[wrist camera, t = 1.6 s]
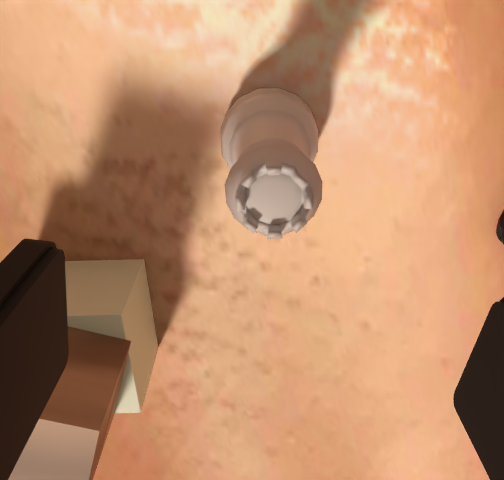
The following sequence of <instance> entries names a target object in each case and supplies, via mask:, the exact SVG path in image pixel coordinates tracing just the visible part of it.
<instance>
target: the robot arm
mask: <svg viewBox="0 0 504 480" xmlns="http://www.w3.org/2000/svg"><path fill="white" fill-rule="evenodd" d="M68 354H69V345H68V322H67V298H66V275H65V256H64V252H63V250H59V249H56V245H55V243H54V242H49V241H41V240H33V239H23V240H22V241H21V242H20V243H19V244H18V245H17V246H16V247H15V248H14V249H13V250H12V251H11V252H10V253H9V254H8V255H7V256H6V257H5V259H4V260H3V261H2V262H1V263H0V480H8V479H9V477H10V475H11V473H12V471H13V469H14V467H15V465H16V463H17V461H18V459H19V457H20V455H21V453H22V451H23V449H24V448H25V446H26V444H27V442H28V440H29V438H30V436H31V434H32V432H33V430H34V428H35V426H36V424H37V422H38V420H39V418H40V416H41V414H42V412H43V410H44V408H45V406H46V404H47V402H48V401H49V399H50V397H51V395H52V393H53V391H54V389H55V387H56V385H57V383H58V381H59V379H60V377H61V375H62V373H63V371H64V369H65V367H66V364H67V360H68ZM454 407H455V409H456V412H457V414H458V416H459V418H460V420H461V422H462V424H463V426H464V428H465V430H466V432H467V434H468V436H469V438H470V440H471V442H472V444H473V446H474V448H475V450H476V452H477V454H478V456H479V458H480V460H481V462H482V464H483V466H484V468H485V470H486V472H487V474H488V476H489V478H490V480H504V297H503V298H502V299H501V300H500V302H495V303H494V304H493V305H492V307H491V309H490V311H489V313H488V316H487V318H486V320H485V323H484V325H483V327H482V330H481V332H480V334H479V337H478V339H477V341H476V344H475V346H474V348H473V350H472V353H471V355H470V357H469V360H468V362H467V364H466V367H465V369H464V371H463V374H462V376H461V378H460V381H459V383H458V385H457V387H456V390H455V393H454Z"/></svg>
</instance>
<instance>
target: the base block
mask: <svg viewBox="0 0 504 480" xmlns="http://www.w3.org/2000/svg"><path fill="white" fill-rule="evenodd" d="M65 275H66V298H67V322H68V326H69V327H74V328H78V329H82V330H86V331H91V332H95V333H99V334H104V335H108V336H112V337H116V338H121V339H125V340H129V341H131V344H130V348H129V353H128V357H127V361H126V365H125V370H124V374H123V378H122V382H121V387H120V391H119V395H118V400H117V404H116V408H115V412H114V413H141V409H142V406H143V402H144V398H145V395H146V391H147V387H148V384H149V380H150V376H151V372H152V369H153V365H154V361H155V358H156V354H157V350H158V342H157V336H156V330H155V324H154V317H153V311H152V305H151V299H150V292H149V286H148V280H147V274H146V268H145V261H144V259H125V260H86V261H65Z"/></svg>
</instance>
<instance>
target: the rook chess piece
mask: <svg viewBox="0 0 504 480" xmlns="http://www.w3.org/2000/svg"><path fill="white" fill-rule="evenodd" d="M221 147H222V155H223V157H224V159H225V161H226V163H227V165H228V167H229V169H230V172H229V175H228V178H227V180H226V183H225V193H226V203H227V205H228V207H229V209H230V211H231V213H232V215H233V217H234V218H235V219H236V220H237V221H238V222H240V223H241V224H242V225H243V226H244V227H246V228H247V229H248V230H249V231H251V232H252V233H253V234H254V232H257V233H260V234H263V235H267V239H271V238H282V235H284V234H287V233H289V232H292V231H294V230H295V232H296V233H297V232H298V231H299V230H300V229H301V228H302V227H303V226H304V225H306V224H307V222H308V221H309V220H310V219H311V218H312V217H313V216H314V214H315V212H316V210H317V208H318V206H319V204H320V202H321V200H322V180H321V177H320V175H319V173H318V170H317V168H316V165H315V164H314V163H313V161H314V159H315V156H316V154H317V152H318V126H317V124H316V121H315V119H314V116H313V113H312V111H311V109H310V108H309V107H308V106H307V105H306V104H305V103H304V102H303V101H302V100H301V99H300V98H299V97H298V96H297V95H295V94H293V93H290V92H288V91H285V90H283V89H280V88H258V89H256V90H254V91H252V92H250V93H247V94H245V95H243V96H241V97H240V98H239V99H238V100H237V101H236V102H235V103H234V104H233V105H232V106H231V108H230V109H229V110H228V111H227V113H226V115H225V118H224V121H223V124H222V127H221Z"/></svg>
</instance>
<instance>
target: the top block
mask: <svg viewBox="0 0 504 480" xmlns="http://www.w3.org/2000/svg"><path fill="white" fill-rule="evenodd" d="M130 344H131V341H129V340H125V339H121V338H116V337H112V336H108V335H104V334H99V333H95V332H91V331H86V330H82V329H78V328H74V327H69V326H68V345H69V354H68V360H67V364H66V367H65V369H64V371H63V373H62V375H61V377H60V379H59V381H58V383H57V385H56V387H55V389H54V391H53V393H52V395H51V397H50V399H49V401H48V402H47V404H46V406H45V408H44V410H43V412H42V414H41V416H40V418H39V420H38V422H37V424H36V426H35V428H34V430H33V432H32V434H31V436H30V438H29V440H28V442H27V444H26V446H25V448H24V449H23V451H22V453H21V455H20V457H19V459H18V461H17V463H16V465H15V467H14V469H13V471H12V473H11V475H10V477H9V479H8V480H93V477H94V474H95V471H96V468H97V465H98V462H99V459H100V456H101V453H102V450H103V447H104V444H105V441H106V438H107V435H108V432H109V429H110V426H111V423H112V419H113V416H114V412H115V408H116V404H117V400H118V395H119V391H120V387H121V382H122V378H123V374H124V370H125V365H126V361H127V357H128V353H129V348H130Z"/></svg>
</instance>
